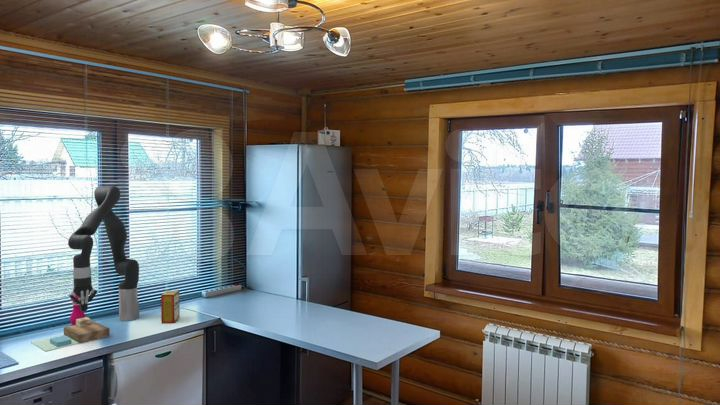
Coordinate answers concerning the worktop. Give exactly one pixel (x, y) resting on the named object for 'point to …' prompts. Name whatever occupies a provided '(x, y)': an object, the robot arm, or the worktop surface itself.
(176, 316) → the baking soda box
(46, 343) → the mat
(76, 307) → the pepper mill
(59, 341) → the teal sponge
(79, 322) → the block
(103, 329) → the brown shallow rectangular piece
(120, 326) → the worktop surface
